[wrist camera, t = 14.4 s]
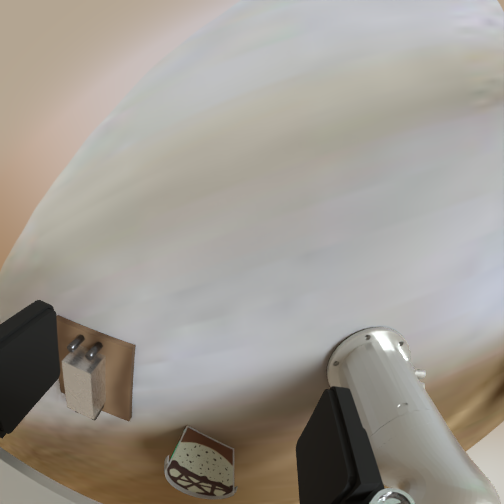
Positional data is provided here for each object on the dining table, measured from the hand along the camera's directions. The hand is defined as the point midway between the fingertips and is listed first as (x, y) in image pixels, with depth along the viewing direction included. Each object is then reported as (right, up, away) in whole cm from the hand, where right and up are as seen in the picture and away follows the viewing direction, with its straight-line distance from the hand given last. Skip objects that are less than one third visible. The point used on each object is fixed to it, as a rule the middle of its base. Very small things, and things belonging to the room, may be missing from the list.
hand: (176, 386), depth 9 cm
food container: (-6, -29, +37) cm, 48 cm away
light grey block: (-23, -15, +33) cm, 43 cm away
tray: (-23, -15, +34) cm, 44 cm away
